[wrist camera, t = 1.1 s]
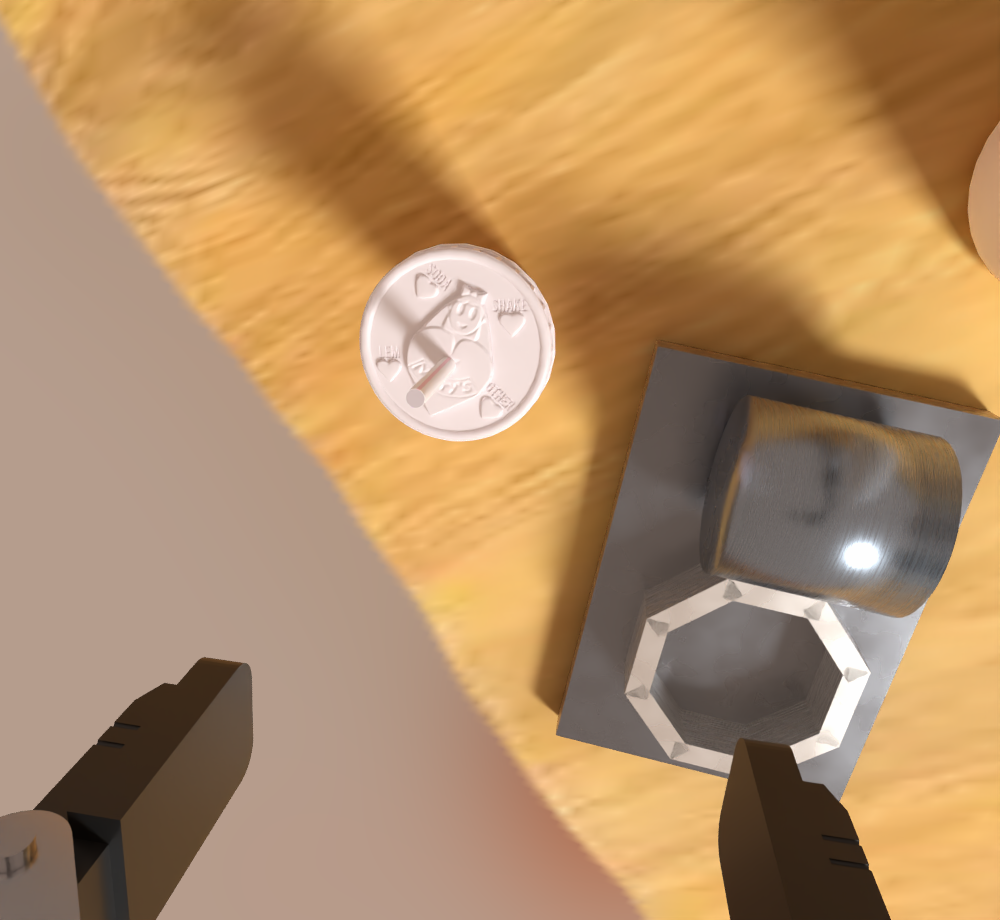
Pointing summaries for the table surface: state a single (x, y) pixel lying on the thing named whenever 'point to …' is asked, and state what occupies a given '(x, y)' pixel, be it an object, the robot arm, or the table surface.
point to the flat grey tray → (766, 562)
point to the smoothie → (457, 342)
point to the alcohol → (987, 203)
